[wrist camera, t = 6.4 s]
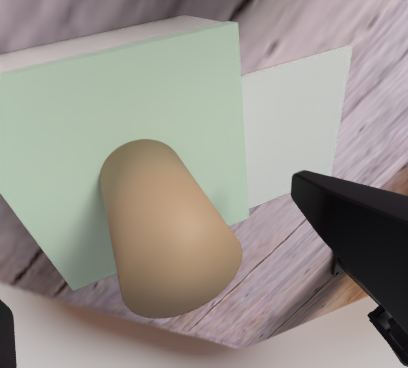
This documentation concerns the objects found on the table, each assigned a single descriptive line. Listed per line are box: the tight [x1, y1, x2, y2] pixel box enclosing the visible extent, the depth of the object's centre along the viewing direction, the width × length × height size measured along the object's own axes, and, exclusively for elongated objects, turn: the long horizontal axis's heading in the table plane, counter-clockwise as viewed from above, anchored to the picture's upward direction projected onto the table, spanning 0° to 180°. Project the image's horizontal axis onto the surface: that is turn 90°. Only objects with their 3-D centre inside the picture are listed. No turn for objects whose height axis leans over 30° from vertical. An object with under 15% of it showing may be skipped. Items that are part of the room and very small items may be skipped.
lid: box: [0, 21, 249, 318], centre depth 9 cm, size 9×9×6 cm
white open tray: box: [0, 15, 220, 73], centre depth 13 cm, size 9×9×4 cm
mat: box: [241, 45, 353, 209], centre depth 20 cm, size 10×10×1 cm
